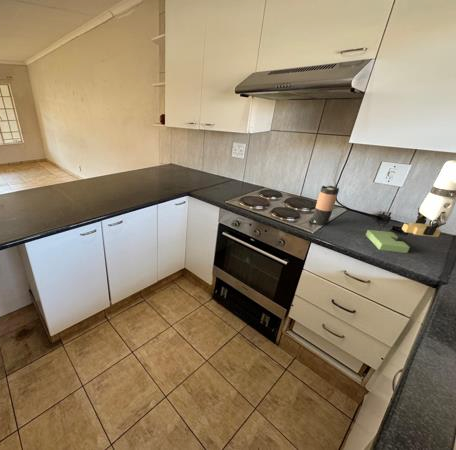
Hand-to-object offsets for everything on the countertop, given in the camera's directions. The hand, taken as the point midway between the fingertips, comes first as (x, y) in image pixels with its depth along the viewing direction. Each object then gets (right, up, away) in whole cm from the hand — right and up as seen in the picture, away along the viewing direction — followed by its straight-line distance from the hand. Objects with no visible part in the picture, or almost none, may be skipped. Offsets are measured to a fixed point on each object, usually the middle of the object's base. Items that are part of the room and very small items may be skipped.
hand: (422, 230), depth 107 cm
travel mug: (-28, +3, +26) cm, 38 cm away
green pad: (-10, -6, +6) cm, 14 cm away
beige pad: (-1, -1, +1) cm, 2 cm away
